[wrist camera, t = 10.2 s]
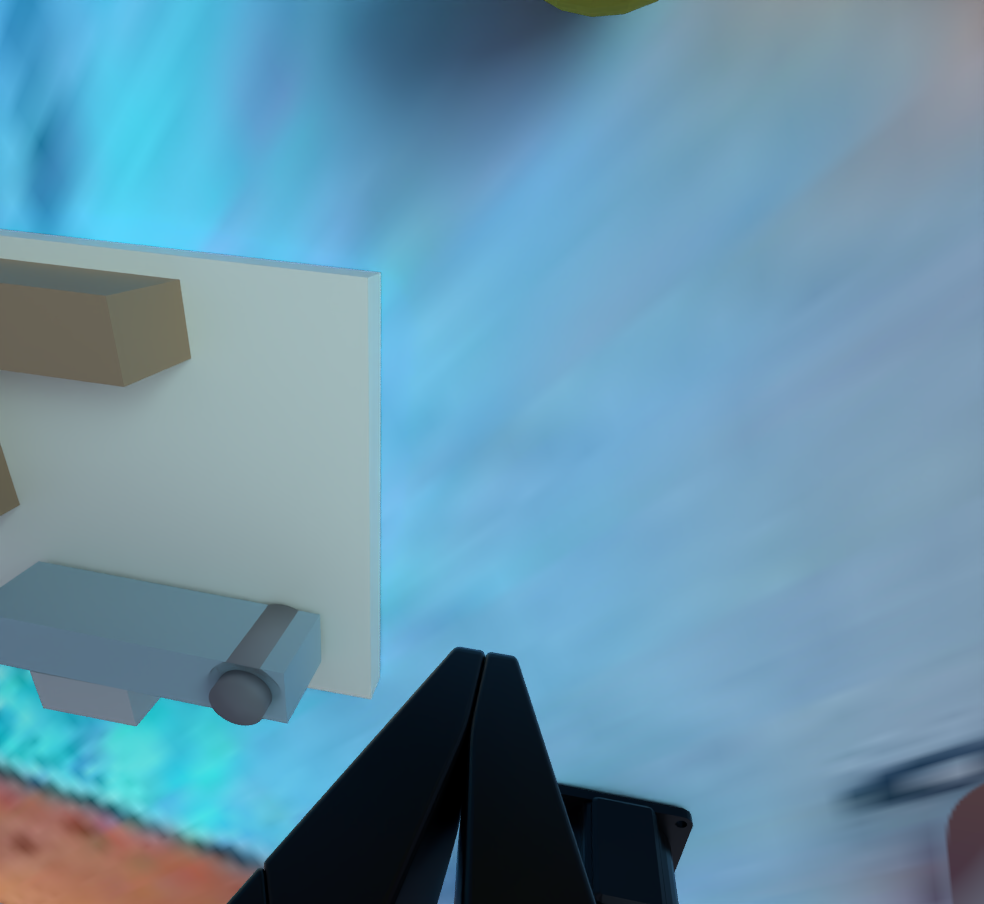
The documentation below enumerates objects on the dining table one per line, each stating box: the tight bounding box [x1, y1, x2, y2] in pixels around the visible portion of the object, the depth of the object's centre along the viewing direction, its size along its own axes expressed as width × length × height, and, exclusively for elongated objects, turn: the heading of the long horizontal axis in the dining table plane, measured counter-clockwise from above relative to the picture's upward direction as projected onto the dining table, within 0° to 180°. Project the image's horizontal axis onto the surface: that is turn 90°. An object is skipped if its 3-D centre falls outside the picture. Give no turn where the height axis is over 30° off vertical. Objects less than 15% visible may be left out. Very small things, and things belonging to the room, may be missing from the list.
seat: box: [0, 229, 381, 726], centre depth 20 cm, size 18×17×4 cm
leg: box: [0, 561, 321, 725], centre depth 21 cm, size 12×3×4 cm, turn 83°
